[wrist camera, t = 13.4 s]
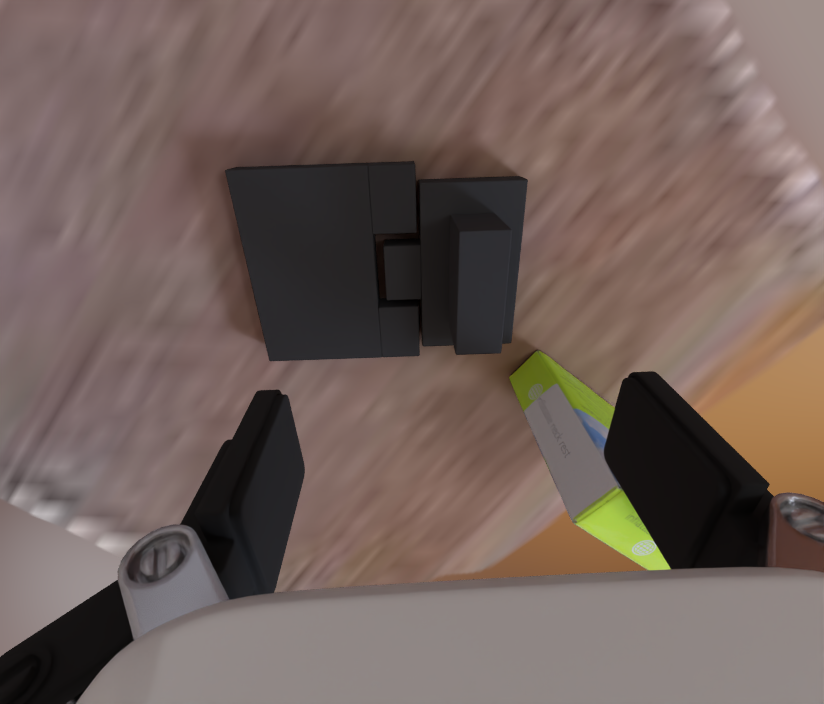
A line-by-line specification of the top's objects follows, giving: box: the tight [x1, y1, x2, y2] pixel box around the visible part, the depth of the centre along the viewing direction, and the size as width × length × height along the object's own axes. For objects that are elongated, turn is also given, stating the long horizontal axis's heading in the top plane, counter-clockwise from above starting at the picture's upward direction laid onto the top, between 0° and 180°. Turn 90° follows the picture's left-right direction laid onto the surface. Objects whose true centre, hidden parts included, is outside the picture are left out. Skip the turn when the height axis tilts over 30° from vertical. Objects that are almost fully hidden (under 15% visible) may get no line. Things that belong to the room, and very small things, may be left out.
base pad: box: [225, 161, 420, 361], centre depth 30 cm, size 14×12×2 cm
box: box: [509, 350, 671, 570], centre depth 29 cm, size 10×4×17 cm, turn 52°
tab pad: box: [383, 176, 528, 355], centre depth 28 cm, size 12×10×7 cm
